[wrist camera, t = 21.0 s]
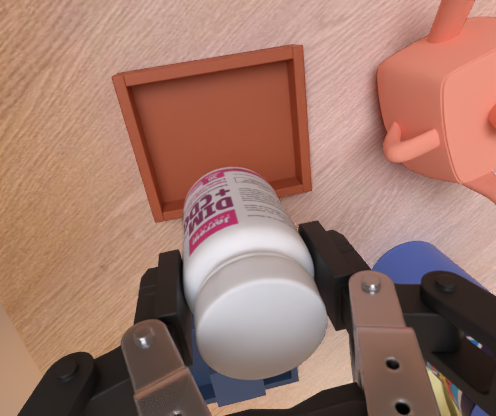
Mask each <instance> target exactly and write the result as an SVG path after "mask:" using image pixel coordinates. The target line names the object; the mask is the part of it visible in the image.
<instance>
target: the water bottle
mask: <svg viewBox="0 0 496 416" xmlns="http://www.w3.org/2000/svg"><path fill="white" fill-rule="evenodd" d="M437 270H442V271H449V272H453V273H456V274H458V275H460V276H462V277H464V278H466V279H467V280H469V281H471V282H472V283H474V284H476V285H478V286H479V287H481V288H483V289H484V290H486V291H488V290H487V289H485V288H484V287H483V286H482V285H481V284H480V283H478V282H477V281H476V280H475V279H474V278H472V277H471V276H470V275H469V274H467V273H466V272H465V271H464V270H463V269H461V268H460V267H459V266H458V265H457V264H455V263H454V262H453V261H452V260H450V259H449V258H448V257H447V256H446V255H444V254H443V253H442V252H441V251H439V250H438V249H437V248H436V247H435V246H433V245H432V244H429V243H427V242H422V241H412V242H407V243H404V244H401V245H398V246H396V247H395V248H393V249H391V250H390V251H388V252H387V253H386V254H384V255H383V256H382V257H381V258H380V259H379V260H378V262H377V263H376V264H375V266H374V267H373V269H372V271H377V272H380V273H383V274H385V275H387V276H388V277H389V278H390V279H391V280H392V281H393V283H397V284H421V278H422V276H423V275H424V274H426V273H428V272H431V271H437ZM488 292H489V291H488ZM463 336H464V337H465V338H467V339H468V340H469V341H471V342H472V343H474V344H475V345H476V346H478V347H479V348H480V349H482V350H483V351H484V352H486V353H487V354H489V355H490V356H491V357H493V358H494V356H493V355H492V354H491V352H490V351H489V350H488V349H486V348H485V347H484V346H482V345H481V344H480V343H478V342H477V341H475V340H474V339H473V338H471V337H470V336H469V335H467V334H466V333H464V335H463ZM423 359H424V358H423ZM494 359H495V358H494ZM424 362H425V366H426V367H427V368H428V369H429V370H430V371H431V372H432V373H433V374H434V375H435V376H436V377H437V378H438V379H439V380H440V381H441V382H442V383H443V385H444V386H445V388H446V390H447V391H448V393H449V395H450V396H451V398H452V400H453V401H454V403H455V405H456V406H457V408H458V410H459V411H460V413H461V415H462V416H489V415H488V414H486V413H485V412H484V411H483V410H482V409H481V408H480V407H478V406H477V405H476V404H475V403H474V402H473V401H472V400H471V399H469V398H468V397H467V396H466V395H465V394H464V393H463V392H461V391H460V390H459V389H458V388H457V387H456V386H455V385H453V384H452V383H451V382H450V381H449V380H448V379H447V378H445V377H444V376H443V375H442V374H441V373H440V372H439V371H438V370H436V369H435V368H434V367H433V366H432V365H431V364H430V363H428V362H427V361H426V360H425V359H424Z"/></svg>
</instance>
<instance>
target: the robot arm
mask: <svg viewBox="0 0 496 416" xmlns="http://www.w3.org/2000/svg"><path fill="white" fill-rule="evenodd" d="M299 234H300V236H301V238H302V239H303V241H304V243H305V245H306V247H307V248H308V251H309V253H310V255H311V258H312V261H313V265H314V281H315V283H316V286H317V288H318V291H319V293H320V296H321V298H322V300H323V302H324V305H325V307H326V311H327V314H328V316H329V318H330V320H331V322H332V324H333V326H334V328H335V330H336V331H339V330H343V329H346V330H347V332H348V333H349V348H350V357H351V366H352V375H353V383H350V384H346V385H342V386H338V387H334V388H331V389H327V390H323V391H321V392H319V393H317V394H316V395H314V396H312V397H310V398H308V399H307V400H305V401H303V402H301V403H299V404H298V405H296V406H294V407H292V408H290V409H248V410H244V411H241V412H237V413H233V414H229V415H225V416H441V413H440V410H439V406H438V403H437V400H436V397H435V394H434V391H433V388H432V384H431V381H430V378H429V375H428V372H427V369H426V366H425V362H424V359H425V360H426V361H427V362H428V363H430V364H431V365H432V366H433V367H434V368H435V369H436V370H438V371H439V372H440V373H441V374H442V375H443V376H444V377H445V378H447V379H448V380H449V381H450V382H451V383H452V384H453V385H455V386H456V387H457V388H458V389H459V390H460V391H461V392H463V393H464V394H465V395H466V396H467V397H468V398H469V399H471V400H472V401H473V402H474V403H475V404H476V405H477V406H478V407H480V408H481V409H482V410H483V411H484V412H485V413H486V414H488V415H489V416H496V296H495V295H493V294H491V293H490V292H488V291H486V290H484V289H483V288H481V287H479V286H478V285H476V284H474V283H472V282H471V281H469V280H467V279H466V278H464V277H462V276H460V275H458V274H456V273H453V272H449V271H442V270H437V271H431V272H428V273H426V274H424V275H423V276H422V278H421V284H397V283H393V281H392V280H391V279H390V278H389V277H388V276H387V275H385V274H383V273H380V272H377V271H372V270H371V269H370V267H369V266H368V265H367V264H366V262H365V261H364V260H363V259H362V258H361V256H360V255H359V254H358V253H357V251H356V250H354V248H353V247H352V245H351V244H350V243H349V242H348V240H347V239H346V238H345V237H344V235H342V234H340V233H338V232H336V231H334V230H329V231H325V229H324V228H323V227H322V225H321V224H320V223H319V221H312V222H308V223H303V224H299ZM138 297H139V298H138V301H137V307H136V313H135V319H134V325H133V326H132V327H131V328H129V329H128V330H127V331H126V333H125V334H124V335H123V337H122V340H121V345H120V346H119V347H117V348H116V349H114V350H112V351H110V352H108V353H106V354H104V355H102V356H100V357H98V358H96V359H93V357H92V356H91V355H90V354H89V353H86V352H75V353H72V354H69V355H67V356H65V357H63V358H61V359H59V360H58V361H57V362H55V363H54V364H53V365H52V366H51V367H50V368H49V369H48V371H47V372H46V373H45V375H44V376H43V378H42V379H41V381H40V382H39V384H38V385H37V387H36V388H35V390H34V391H33V393H32V394H31V396H30V397H29V399H28V400H27V402H26V403H25V405H24V406H23V408H22V409H21V411H20V412H19V414H18V415H17V416H212V415H211V413H210V411H209V409H208V407H207V405H206V403H205V401H204V399H203V397H202V395H201V393H200V391H199V388H198V386H197V384H196V382H195V380H194V378H193V376H192V374H191V372H190V370H189V368H188V367H187V366H191V365H193V351H192V325H191V310H190V309H189V307H188V304H187V302H186V299H185V295H184V290H183V262H182V258H181V254H180V251H179V250H173V251H168V252H164V253H160V254H159V262H158V267H155V268H150V269H148V270H147V271H146V272H145V274H144V275H143V277H142V278H141V282H140V290H139V295H138ZM464 333H466V334H467V335H469V336H470V337H471V338H473V339H474V340H475V341H477V342H478V343H480V344H481V345H482V346H484V347H485V348H486V349H488V350H489V351H490V352H491V354H492V355H493V356H494V358H495V359H494V358H493V357H491V356H490V355H489V354H487V353H486V352H484V351H483V350H482V349H480V348H479V347H478V346H476V345H475V344H474V343H472V342H471V341H469V340H468V339H467V338H465V337H464V336H463V335H464ZM423 358H424V359H423Z"/></svg>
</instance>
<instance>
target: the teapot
mask: <svg viewBox="0 0 496 416" xmlns="http://www.w3.org/2000/svg"><path fill="white" fill-rule="evenodd" d="M474 2H475V0H442V1H441V3H440V6H439V9H438V12H437V15H436V17H435V20H434V23H433V26H432V28H431V31H430V34H429V35H428V36H426V37H424V38H422V39H420V40H419V41H417V42H415V43H413V44H411V45H409V46H408V47H406V48H404V49H402V50H401V51H399V52H397V53H395V54H394V55H392V56H391V57H389V58H387V59H386V60H385V61H383V62H382V63H381V64H380V66H379V68H378V72H377V87H378V94H379V101H380V107H381V113H382V117H383V121H384V125H385V128H386V131H387V135H386V137H385V140H384V143H383V152H384V155H385V157H386V158H387V160H388V161H390V162H393V163H400V162H402V163H403V164H404V166H405V167H406V168H408V169H410V170H412V171H414V172H416V173H418V174H421V175H423V176H426V177H429V178H433V179H437V180H443V181H448V182H454V183H461V184H462V185H464V186H466V187H467V188H469V189H471V190H473V191H475V192H477V193H479V194H481V195H483V196H485V197H487V198H488V199H490V200H491V201H492V202H494V203H495V204H496V175H495V174H494V173H493V170H495V169H496V17H472V18H467V17H468V15H469V12H470V10H471V8H472V6H473V4H474Z"/></svg>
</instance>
